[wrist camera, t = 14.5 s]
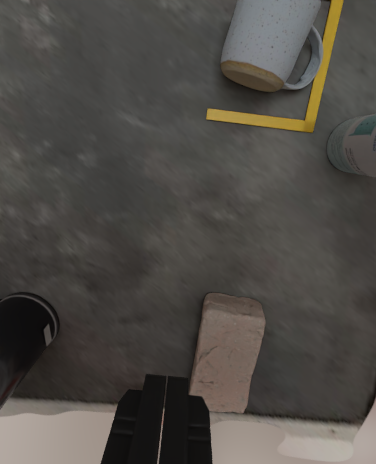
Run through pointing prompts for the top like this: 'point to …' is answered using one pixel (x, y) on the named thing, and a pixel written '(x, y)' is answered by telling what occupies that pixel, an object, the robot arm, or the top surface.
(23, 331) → the robot arm
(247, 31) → the ceramic mug
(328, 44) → the tape outline
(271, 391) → the top surface
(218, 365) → the brick
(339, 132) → the spray paint can
